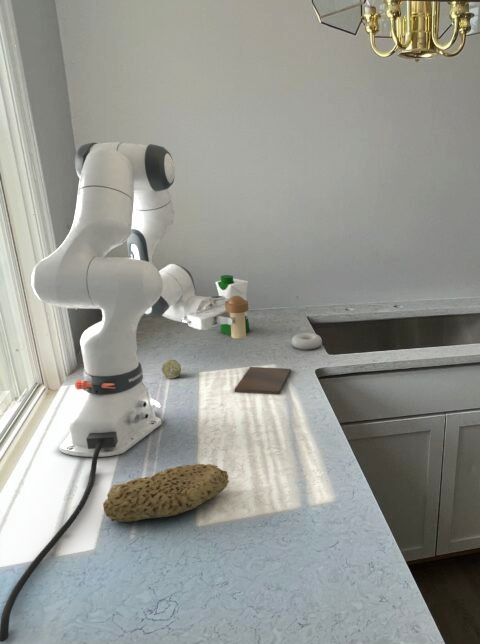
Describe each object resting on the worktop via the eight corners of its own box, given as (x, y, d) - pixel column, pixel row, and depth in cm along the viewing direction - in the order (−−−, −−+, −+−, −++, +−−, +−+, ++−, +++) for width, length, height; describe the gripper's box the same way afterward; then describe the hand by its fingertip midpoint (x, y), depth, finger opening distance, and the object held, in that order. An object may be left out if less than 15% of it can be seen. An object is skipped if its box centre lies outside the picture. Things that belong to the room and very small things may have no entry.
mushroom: (246, 340, 161) (244, 299, 156) (224, 339, 161) (221, 298, 156) (252, 333, 167) (250, 293, 162) (231, 332, 167) (228, 292, 162)
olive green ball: (183, 377, 157) (182, 360, 155) (166, 381, 154) (164, 364, 152) (178, 372, 160) (176, 356, 158) (161, 376, 157) (159, 359, 155)
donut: (287, 349, 180) (316, 352, 178) (286, 339, 179) (316, 342, 177) (297, 340, 189) (326, 342, 187) (297, 330, 188) (325, 332, 186)
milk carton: (216, 332, 193) (212, 275, 186) (236, 326, 200) (232, 271, 193) (234, 337, 189) (230, 279, 181) (254, 331, 196) (250, 275, 188)
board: (279, 394, 148) (279, 391, 148) (234, 391, 149) (234, 389, 148) (290, 371, 163) (290, 368, 163) (250, 369, 164) (250, 366, 163)
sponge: (108, 540, 95) (224, 512, 96) (94, 499, 93) (212, 470, 95) (132, 506, 108) (234, 481, 109) (120, 469, 106) (224, 444, 107)
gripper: (176, 309, 157) (214, 317, 151) (224, 294, 174) (260, 300, 169) (178, 330, 159) (216, 338, 154) (226, 313, 176) (261, 320, 171)
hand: (240, 318), depth 161 cm, fingers closed on mushroom, 4 cm apart
